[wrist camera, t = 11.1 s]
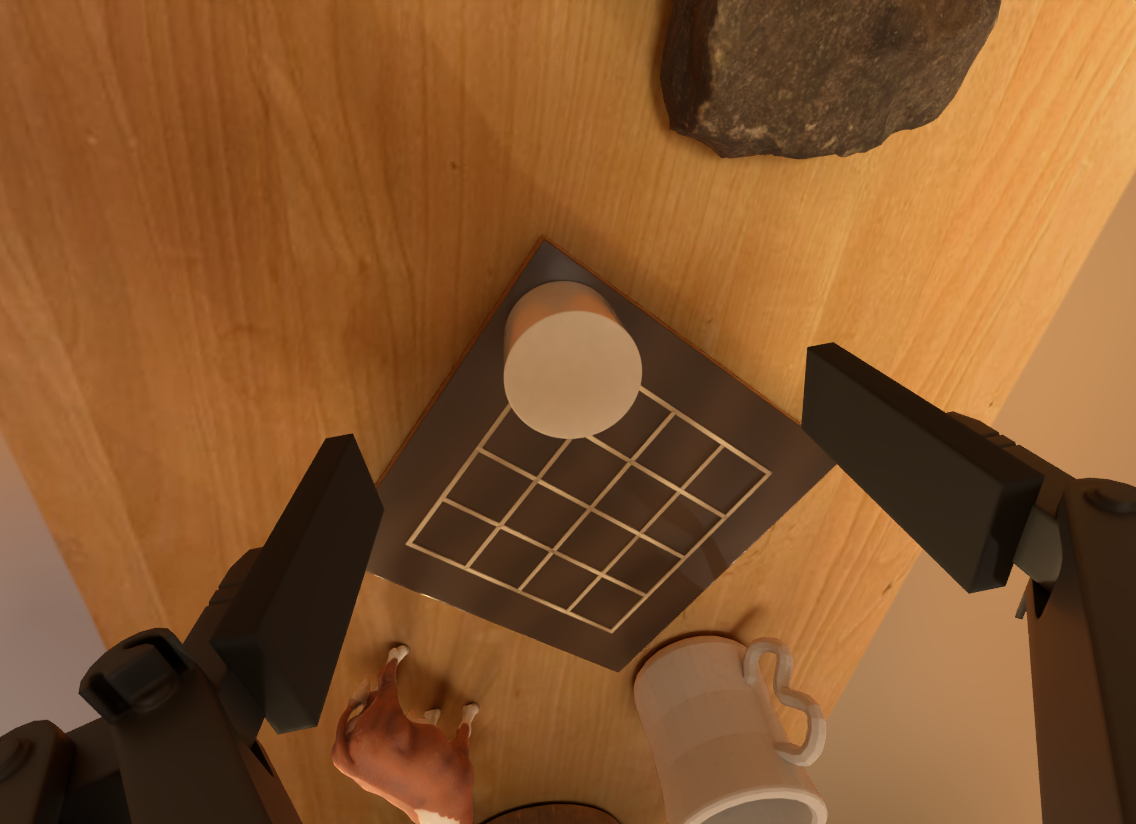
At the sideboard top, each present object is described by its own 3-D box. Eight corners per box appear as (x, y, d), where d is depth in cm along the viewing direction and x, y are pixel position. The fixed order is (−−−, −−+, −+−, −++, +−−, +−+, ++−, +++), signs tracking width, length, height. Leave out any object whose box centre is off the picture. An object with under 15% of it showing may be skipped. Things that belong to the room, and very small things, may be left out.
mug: (703, 723, 40) (759, 885, 32) (606, 696, 38) (638, 866, 29) (809, 620, 36) (908, 774, 27) (709, 580, 33) (783, 738, 24)
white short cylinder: (481, 353, 23) (476, 397, 19) (548, 255, 22) (557, 281, 18) (574, 410, 25) (587, 460, 21) (642, 323, 23) (670, 360, 19)
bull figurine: (457, 752, 39) (446, 892, 32) (342, 651, 33) (296, 795, 25) (508, 731, 38) (509, 868, 31) (402, 624, 32) (372, 763, 25)
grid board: (336, 542, 29) (329, 559, 28) (542, 233, 22) (544, 238, 21) (615, 657, 36) (618, 674, 35) (832, 446, 29) (845, 459, 28)
